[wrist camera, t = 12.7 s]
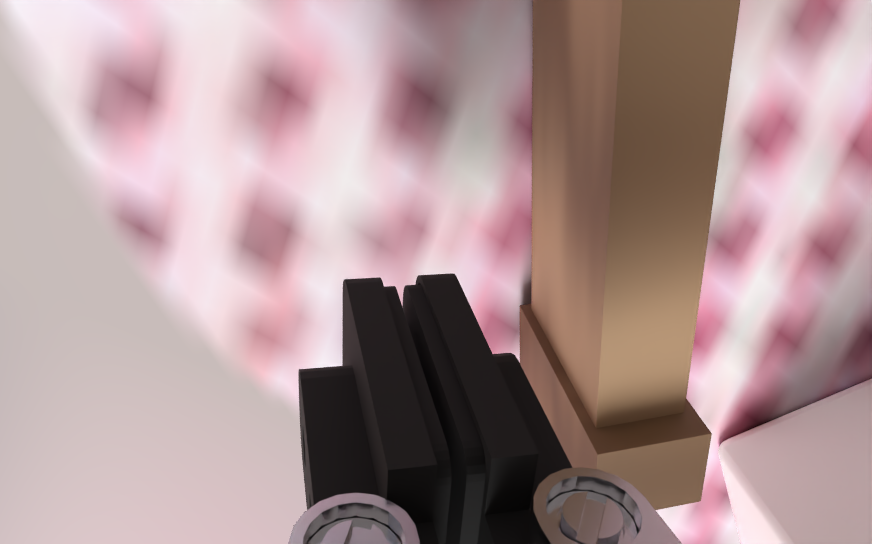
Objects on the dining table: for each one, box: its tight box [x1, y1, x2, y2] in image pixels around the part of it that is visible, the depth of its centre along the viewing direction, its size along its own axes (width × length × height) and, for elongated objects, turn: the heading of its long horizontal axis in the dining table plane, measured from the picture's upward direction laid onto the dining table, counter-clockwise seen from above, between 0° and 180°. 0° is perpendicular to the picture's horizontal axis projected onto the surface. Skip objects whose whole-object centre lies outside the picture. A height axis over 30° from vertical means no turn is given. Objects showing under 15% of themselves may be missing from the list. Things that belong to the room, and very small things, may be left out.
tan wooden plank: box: [520, 0, 740, 510], centre depth 13 cm, size 11×2×5 cm, turn 3°
